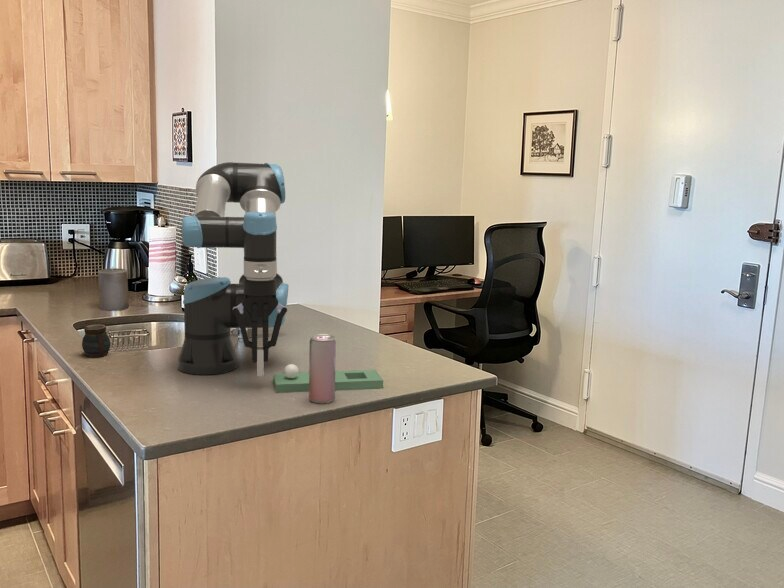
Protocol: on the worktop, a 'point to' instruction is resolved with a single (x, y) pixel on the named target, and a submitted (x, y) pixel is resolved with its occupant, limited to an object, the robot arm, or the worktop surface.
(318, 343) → the beverage can
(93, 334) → the mate gourd
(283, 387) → the green rectangular board
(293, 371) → the white ball
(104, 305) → the pillar candle
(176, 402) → the worktop surface
